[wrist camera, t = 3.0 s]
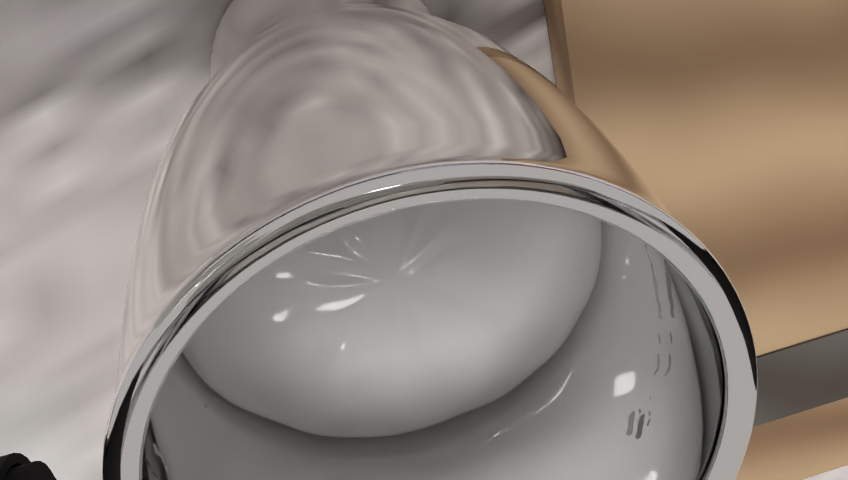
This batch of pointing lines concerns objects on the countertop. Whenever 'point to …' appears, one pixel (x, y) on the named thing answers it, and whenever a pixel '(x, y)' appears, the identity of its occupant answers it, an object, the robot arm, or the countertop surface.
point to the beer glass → (413, 275)
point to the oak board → (741, 178)
